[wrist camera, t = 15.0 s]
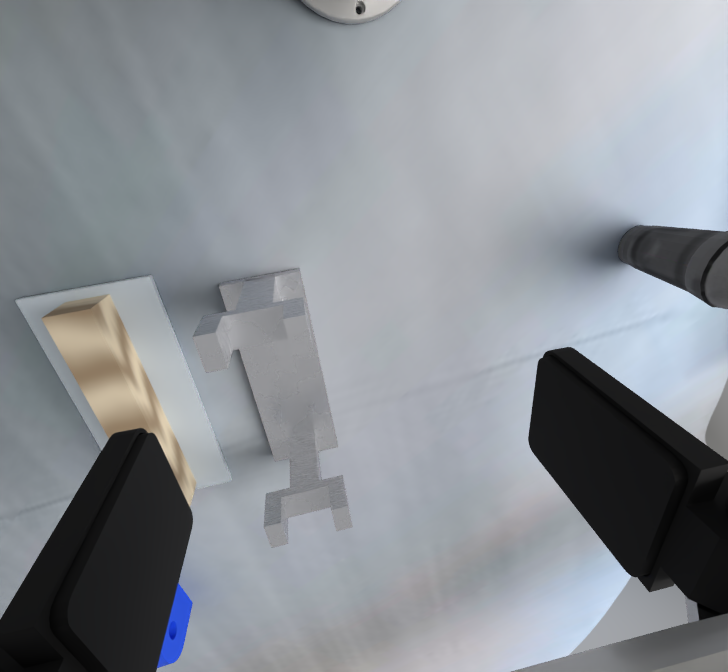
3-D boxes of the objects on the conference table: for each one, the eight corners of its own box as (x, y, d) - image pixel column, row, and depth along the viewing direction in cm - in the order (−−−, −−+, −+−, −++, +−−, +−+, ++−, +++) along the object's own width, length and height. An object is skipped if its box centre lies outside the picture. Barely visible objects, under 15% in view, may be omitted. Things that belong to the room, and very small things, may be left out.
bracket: (192, 601, 58) (177, 673, 50) (137, 619, 57) (112, 694, 49) (135, 523, 50) (106, 594, 42) (70, 542, 49) (27, 618, 41)
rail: (65, 302, 36) (41, 318, 33) (109, 294, 37) (90, 308, 33) (163, 490, 47) (153, 517, 44) (196, 482, 48) (189, 509, 44)
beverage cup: (670, 250, 47) (907, 308, 29) (617, 286, 47) (816, 365, 30) (655, 199, 43) (911, 229, 26) (599, 239, 44) (809, 295, 26)
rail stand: (220, 282, 39) (192, 336, 27) (299, 268, 39) (305, 314, 28) (275, 454, 49) (271, 547, 37) (337, 440, 50) (352, 527, 38)
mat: (19, 298, 36) (14, 300, 35) (151, 274, 37) (149, 276, 37) (134, 500, 48) (132, 504, 47) (231, 477, 49) (231, 481, 49)
